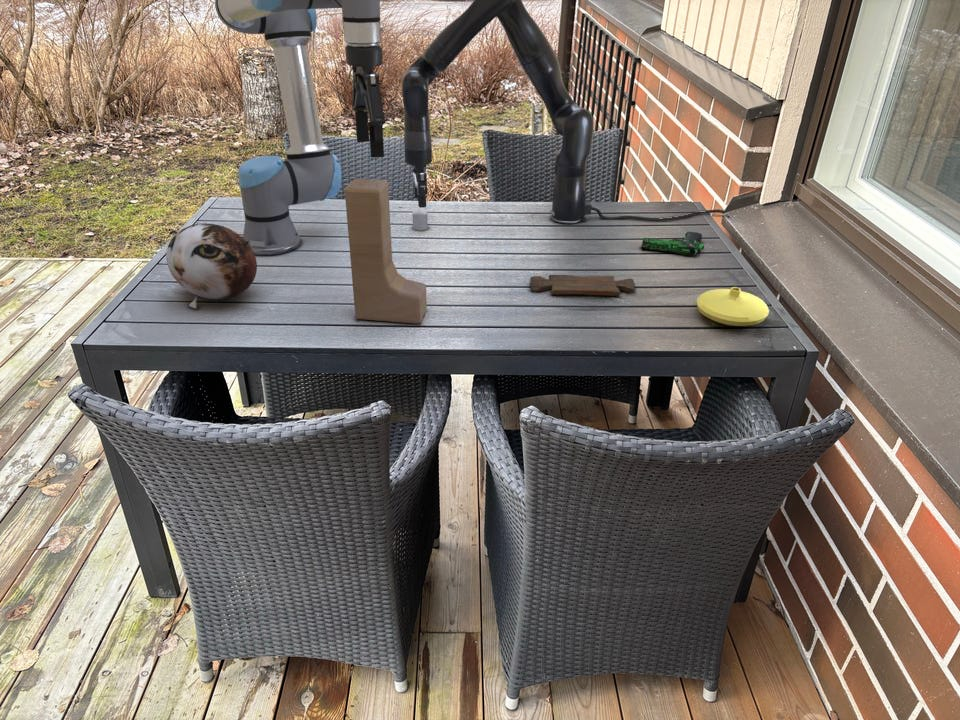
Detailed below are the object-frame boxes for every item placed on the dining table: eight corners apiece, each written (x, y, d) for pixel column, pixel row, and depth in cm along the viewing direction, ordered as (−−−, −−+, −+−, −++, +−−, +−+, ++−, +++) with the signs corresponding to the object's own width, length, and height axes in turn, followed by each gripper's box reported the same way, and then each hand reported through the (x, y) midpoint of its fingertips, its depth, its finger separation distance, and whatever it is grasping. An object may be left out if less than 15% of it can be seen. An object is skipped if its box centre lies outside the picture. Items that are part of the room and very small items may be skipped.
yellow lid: (708, 296, 172) (714, 269, 169) (775, 314, 165) (782, 286, 161) (683, 320, 161) (688, 292, 158) (753, 340, 154) (760, 311, 150)
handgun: (708, 232, 202) (701, 248, 190) (707, 242, 204) (700, 259, 192) (651, 225, 208) (641, 240, 196) (650, 234, 209) (639, 251, 197)
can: (414, 225, 212) (413, 209, 210) (428, 225, 212) (428, 210, 210) (411, 230, 209) (411, 214, 206) (426, 230, 208) (426, 215, 206)
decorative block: (420, 325, 158) (416, 192, 142) (354, 319, 159) (343, 187, 144) (427, 309, 164) (423, 181, 149) (363, 305, 166) (354, 177, 150)
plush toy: (130, 285, 161) (164, 203, 163) (192, 308, 177) (221, 233, 178) (195, 307, 151) (229, 220, 152) (254, 330, 166) (285, 250, 168)
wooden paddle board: (638, 298, 171) (631, 281, 180) (639, 292, 170) (632, 275, 179) (530, 294, 172) (529, 277, 180) (531, 288, 171) (529, 271, 179)
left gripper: (397, 51, 137) (401, 162, 148) (367, 36, 157) (373, 134, 168) (358, 53, 135) (366, 165, 146) (333, 37, 155) (341, 136, 166)
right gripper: (401, 139, 203) (404, 195, 212) (407, 153, 192) (410, 211, 200) (427, 138, 205) (429, 193, 213) (435, 151, 193) (437, 209, 201)
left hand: (370, 149), depth 157 cm, fingers open, 13 cm apart
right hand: (420, 202), depth 207 cm, fingers open, 8 cm apart
